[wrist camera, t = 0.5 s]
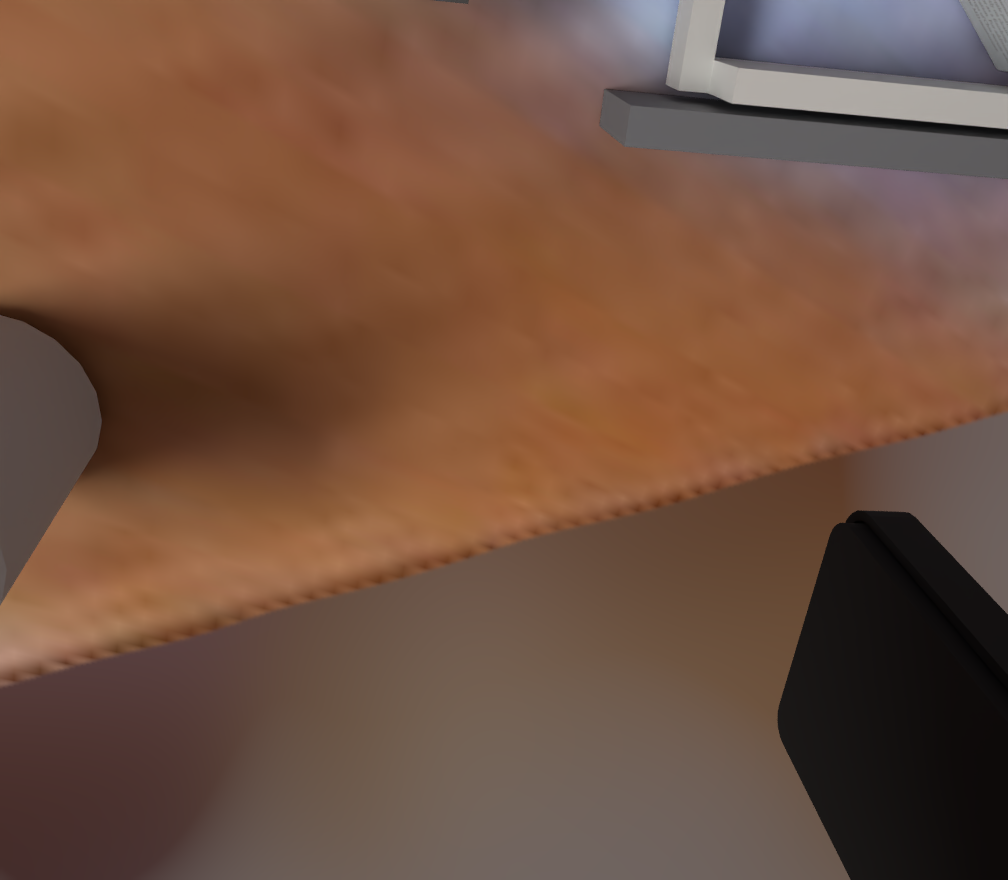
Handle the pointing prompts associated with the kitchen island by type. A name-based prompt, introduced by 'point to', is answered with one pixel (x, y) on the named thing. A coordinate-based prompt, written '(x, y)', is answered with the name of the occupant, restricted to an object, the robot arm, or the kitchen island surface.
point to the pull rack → (818, 81)
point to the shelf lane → (802, 135)
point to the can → (38, 438)
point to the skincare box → (991, 27)
